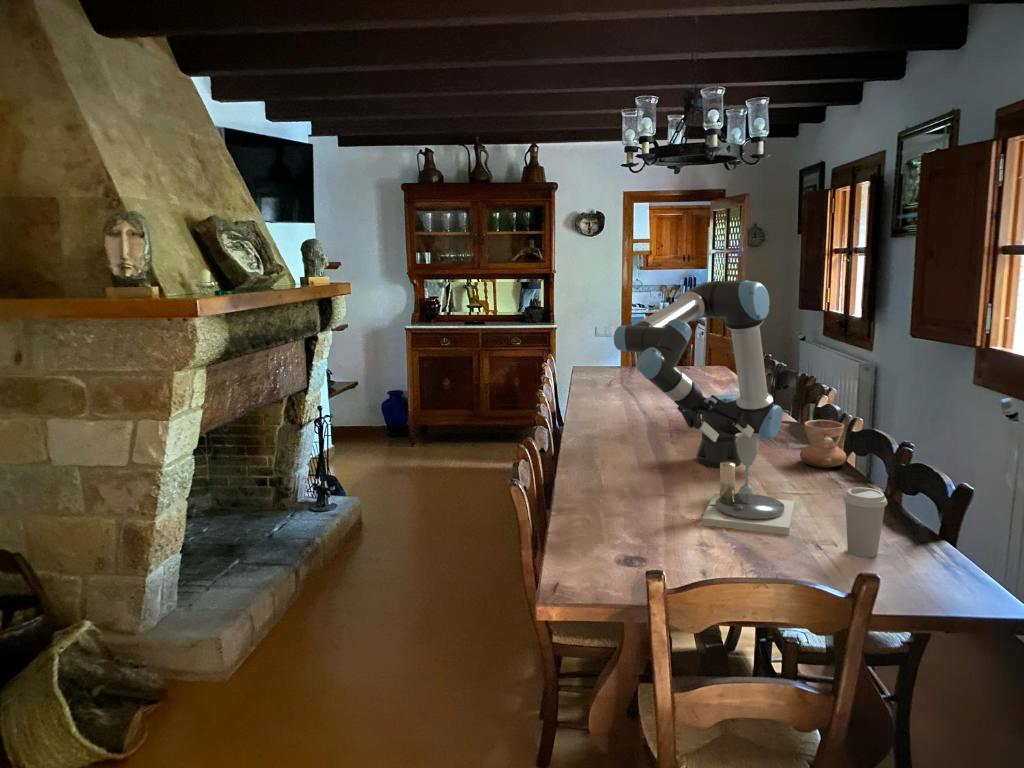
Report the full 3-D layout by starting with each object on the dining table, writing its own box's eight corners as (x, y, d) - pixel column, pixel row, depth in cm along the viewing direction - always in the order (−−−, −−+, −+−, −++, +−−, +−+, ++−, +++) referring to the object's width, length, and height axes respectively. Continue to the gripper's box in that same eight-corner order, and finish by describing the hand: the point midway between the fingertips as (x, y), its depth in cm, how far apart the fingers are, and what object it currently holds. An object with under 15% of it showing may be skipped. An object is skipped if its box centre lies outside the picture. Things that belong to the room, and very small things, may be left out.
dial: (720, 495, 218) (721, 454, 216) (786, 501, 211) (787, 459, 209) (710, 515, 202) (711, 471, 200) (781, 522, 195) (782, 477, 193)
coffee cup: (871, 543, 185) (875, 485, 183) (892, 559, 176) (896, 498, 173) (833, 545, 185) (836, 487, 182) (852, 561, 176) (855, 499, 173)
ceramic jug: (850, 472, 243) (852, 429, 241) (803, 471, 246) (804, 429, 244) (840, 457, 260) (841, 417, 258) (795, 456, 264) (797, 417, 261)
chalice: (742, 498, 222) (743, 438, 219) (729, 491, 228) (730, 433, 225) (763, 495, 224) (765, 436, 221) (750, 488, 230) (752, 431, 227)
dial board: (714, 499, 221) (714, 492, 221) (794, 507, 213) (794, 499, 212) (701, 525, 202) (701, 517, 201) (788, 535, 193) (789, 526, 192)
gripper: (648, 407, 215) (698, 450, 222) (709, 395, 194) (762, 443, 200) (659, 387, 218) (707, 429, 224) (720, 373, 196) (772, 420, 203)
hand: (733, 436), depth 212 cm, fingers open, 13 cm apart
